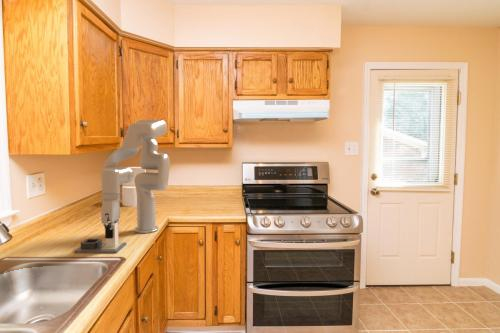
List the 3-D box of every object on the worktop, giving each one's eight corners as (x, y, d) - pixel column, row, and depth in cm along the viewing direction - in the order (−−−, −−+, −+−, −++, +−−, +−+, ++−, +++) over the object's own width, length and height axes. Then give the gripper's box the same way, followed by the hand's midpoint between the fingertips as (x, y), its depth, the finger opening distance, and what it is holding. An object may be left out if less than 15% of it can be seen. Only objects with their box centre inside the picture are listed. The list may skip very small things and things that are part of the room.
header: (87, 244, 155) (87, 237, 154) (126, 244, 155) (126, 237, 155) (74, 253, 143) (74, 245, 142) (116, 253, 143) (116, 245, 143)
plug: (109, 244, 151) (109, 222, 150) (118, 244, 151) (118, 222, 150) (106, 246, 147) (105, 224, 146) (115, 246, 147) (114, 224, 146)
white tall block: (127, 201, 262) (127, 166, 260) (149, 202, 261) (148, 167, 259) (118, 206, 245) (117, 168, 243) (141, 206, 244) (140, 168, 242)
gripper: (110, 193, 156) (111, 231, 157) (94, 199, 138) (95, 242, 140) (126, 193, 156) (127, 231, 157) (112, 199, 139) (112, 242, 140)
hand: (112, 235), depth 148 cm, fingers open, 5 cm apart
